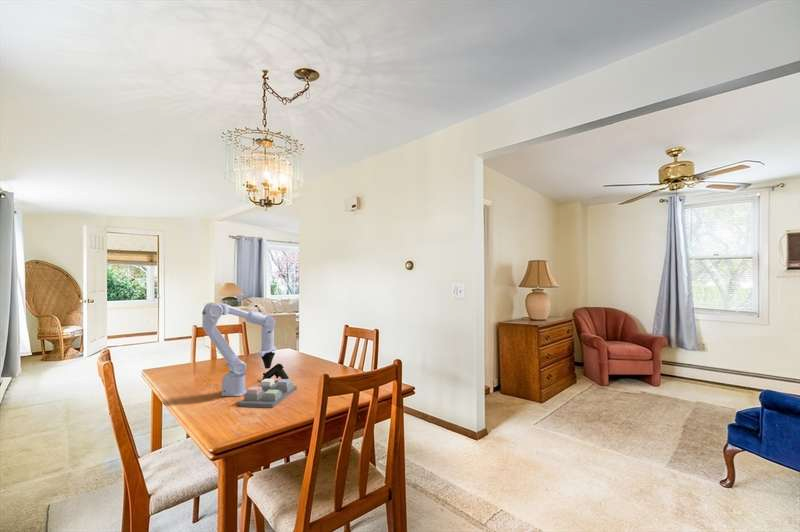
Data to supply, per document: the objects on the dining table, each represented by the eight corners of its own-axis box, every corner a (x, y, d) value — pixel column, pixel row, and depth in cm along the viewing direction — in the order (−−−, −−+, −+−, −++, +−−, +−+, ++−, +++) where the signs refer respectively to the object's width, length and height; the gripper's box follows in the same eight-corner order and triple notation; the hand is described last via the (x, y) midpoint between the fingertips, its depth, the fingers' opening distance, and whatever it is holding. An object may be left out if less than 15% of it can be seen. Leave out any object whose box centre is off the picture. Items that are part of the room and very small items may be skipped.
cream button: (260, 386, 170) (260, 381, 170) (265, 383, 174) (265, 378, 175) (270, 387, 169) (270, 381, 169) (274, 384, 174) (274, 378, 174)
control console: (238, 406, 154) (238, 397, 154) (267, 387, 179) (267, 380, 179) (272, 407, 152) (272, 398, 152) (296, 388, 177) (296, 380, 177)
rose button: (246, 395, 158) (246, 389, 158) (252, 392, 163) (252, 386, 163) (256, 395, 157) (256, 389, 157) (262, 392, 162) (262, 386, 162)
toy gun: (288, 378, 189) (277, 361, 190) (270, 392, 190) (259, 376, 192) (290, 376, 191) (280, 360, 192) (272, 390, 193) (262, 374, 194)
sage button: (264, 398, 157) (264, 392, 157) (269, 395, 162) (269, 389, 162) (274, 399, 156) (274, 393, 156) (279, 395, 161) (279, 389, 161)
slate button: (277, 387, 169) (277, 381, 169) (281, 384, 173) (281, 379, 174) (286, 387, 168) (286, 382, 168) (290, 384, 173) (290, 379, 173)
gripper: (268, 343, 172) (268, 372, 172) (282, 337, 186) (282, 364, 186) (254, 342, 173) (254, 371, 173) (268, 337, 187) (268, 364, 187)
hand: (267, 368), depth 179 cm, fingers closed
